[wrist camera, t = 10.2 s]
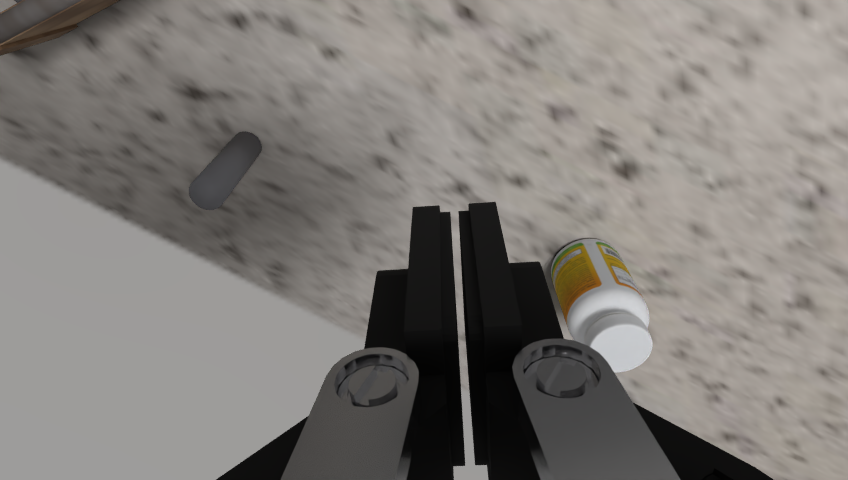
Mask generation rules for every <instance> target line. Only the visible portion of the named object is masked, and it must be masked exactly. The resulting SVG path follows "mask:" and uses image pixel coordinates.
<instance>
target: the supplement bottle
mask: <svg viewBox="0 0 848 480" xmlns="http://www.w3.org/2000/svg"><path fill="white" fill-rule="evenodd" d="M551 278H552V282H553V285H554V288H555V291H556V294H557V297H558V300H559V303H560V305H561V308H562V311H563V315H564V318H565V321H566V324H567V327H568V330H569V332H570V334H571V336H572V338H573V339H574V341H577V342H580V343H582V344H585V345H588V346H589V347H591V348H593V349H594V350H596V351H597V352H599V353H600V354H601V355H602V356H603V357H604V359H605V360H606V361H607V362H608V363H609V365H610V367H611V368H612V370H613V371H614V372H624V371H628V370H631V369H633V368H636V367H637V366H639V365H641V364H642V363H643V362H644V361H645V360H646V359H647V358H648V357H649V355H650V353H651V350H652V338H651V336H650V334H649V332H648V329H647V328H648V324H649V311H648V308H647V305H646V303H645V301H644V299H643V297H642V295H641V293H640V292H639V290H638V288H637V286H636V284H635V283H634V281H633V279H632V277H631V275H630V273H629V272H628V270H627V268H626V266H625V265H624V263H623V261H622V259H621V257H620V256H619V254H618V253H617V251H616V250H615V249H614V248H613V247H612V246H611V245H610V244H608V243H606V242H604V241H602V240H598V239H582V240H578V241H575V242H573V243H571V244H569V245H567V246H565V247H564V248H563V249H562V250H561V251H560V252H559V253H558V254H557V255H556V257H555V258H554V260H553V263H552V267H551Z"/></svg>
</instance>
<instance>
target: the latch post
mask: <svg viewBox="0 0 848 480" xmlns="http://www.w3.org/2000/svg"><path fill="white" fill-rule="evenodd" d="M261 149H262V146H261V142H260V140H259V139H258V137H257V136H255V135H254V134H252V133H250V132H240V133H238V134H237V135H236V136H235V137H234V138H233V139H232V140H231V141H230V142H229V143H228V144H227V145H226V146H225V147H224V149H223V150H222V151H221V152H220V153H219V154H218V155H217V156H216V157H215V158H214V159H213V160H212V162H211V163H210V164H209V165H208V166H207V167H206V168H205V169H204V170H203V171H202V172H201V173H200V175H199V176H198V177H197V178H196V179H195V180H194V181H193V182H192V183H191V185H190V187H189V195H190V198H191V199H192V201H193V202H194V203H195V204H196V205H197V206H199V207H200V208H203V209H206V210H214V209H217V208H219V207H220V206H221V205H222V204H223V202H224V201H225V200H226V198H227V197H228V196H229V194H230V193H231V192H232V190H233V189H234V188H235V186H236V185H237V184H238V182H239V181H240V180H241V178H242V177H243V176H244V174H245V173H246V172H247V170H248V169H249V168H250V166H251V165H252V164H253V162H254V161H255V160H256V158H257V157H258V155H259V154H260V152H261Z"/></svg>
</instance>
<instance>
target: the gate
mask: <svg viewBox="0 0 848 480" xmlns="http://www.w3.org/2000/svg"><path fill="white" fill-rule="evenodd" d="M118 1H120V0H22V1H21V2H19V3H17V4H15V5H13V6H12V7H10V8H8V9H6V10H4V11H3V12H1V13H0V56H1V55H4V54H7V53H10V52H13V51H17V50H20V49H23V48H26V47H29V46H33V45H36V44H39V43H42V42H45V41H49V40H52V39H55V38H58V37H60V36H62V35H64V34H66V33H68V32H70V31H71V30H73V29H75V28H77V27H78V26H77V23H78V22H80V21H82V20H84V19H86V18H88V17H90V16H92V15H94V14H95V13H97V12H99V11H101V10H103V9H105V8H107V7H109V6H111V5H112V4H114V3H116V2H118Z"/></svg>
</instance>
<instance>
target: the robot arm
mask: <svg viewBox="0 0 848 480" xmlns="http://www.w3.org/2000/svg"><path fill="white" fill-rule="evenodd" d="M459 228H460V247H461V265H462V284H463V303H464V321H465V336H466V349H467V363H468V376H469V389H470V403H471V416H472V427H473V443H474V455H475V465H487V468H488V478H489V480H773V479H772V478H770V477H769V476H767V475H766V474H764V473H763V472H761V471H760V470H758V469H757V468H755V467H753V466H751V465H750V464H748V463H746V462H744V461H742V460H740V459H738V458H736V457H735V456H733V455H731V454H729V453H727V452H725V451H723V450H721V449H719V448H718V447H716V446H714V445H712V444H710V443H708V442H706V441H704V440H703V439H701V438H699V437H697V436H695V435H693V434H691V433H689V432H688V431H686V430H684V429H682V428H680V427H678V426H676V425H674V424H672V423H671V422H669V421H667V420H665V419H663V418H661V417H659V416H657V415H656V414H654V413H652V412H650V411H648V410H646V409H644V408H642V407H641V406H639V405H637V404H635V403H633V402H632V400H631V399H630V397H629V396H628V394H627V392H626V391H625V389H624V388H623V386H622V384H621V383H620V381H619V380H618V378H617V376H616V375H615V373H614V371H613V370H612V368H611V367H610V365H609V363H608V362H607V361H606V360H605V359H604V357H603V356H602V355H601V354H600V353H599V352H597V351H596V350H594V349H593V348H591V347H589V346H588V345H585V344H582V343H580V342H577V341H574V340H567V339H564V338H563V335H562V331H561V328H560V325H559V322H558V318H557V315H556V312H555V309H554V305H553V302H552V299H551V296H550V293H549V289H548V286H547V283H546V280H545V276H544V273H543V270H542V267H541V264H540V262H521V263H509V262H508V257H507V252H506V248H505V243H504V239H503V234H502V229H501V225H500V220H499V216H498V211H497V206H496V203H495V202H488V203H472V204H469V211H459ZM453 466H465V454H464V438H463V419H462V402H461V384H460V366H459V348H458V331H457V314H456V298H455V282H454V266H453V249H452V233H451V217H450V212H440V207H439V206H425V207H413V212H412V226H411V239H410V253H409V266H408V269H400V270H383V271H378V272H377V275H376V280H375V287H374V293H373V299H372V305H371V311H370V317H369V323H368V330H367V336H366V342H365V348H364V349H363V350H359V351H356V352H353V353H351V354H349V355H347V356H346V357H344V358H342V359H341V360H340V361H339V362H337V363H336V364H335V365H334V366H333V367H332V368H331V370H330V371H329V373H328V375H327V376H326V378H325V380H324V382H323V385H322V387H321V389H320V392H319V394H318V396H317V398H316V401H315V403H314V405H313V407H312V410H311V412H310V414H309V416H308V417H306V418H305V419H303V420H302V421H301V422H299V423H298V424H296V425H295V426H293V427H292V428H290V429H289V430H287V431H286V432H285V433H283V434H282V435H280V436H279V437H277V438H276V439H274V440H273V441H272V442H270V443H269V444H267V445H266V446H264V447H263V448H261V449H260V450H258V451H257V452H256V453H254V454H253V455H251V456H250V457H249V458H247V459H245V460H244V461H243V462H241V463H240V464H238V465H237V466H235V467H234V468H232V469H231V470H229V471H228V472H227V473H225V474H224V475H222V476H221V477H219V478H218V479H217V480H454V479H453V478H454V476H453Z"/></svg>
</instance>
